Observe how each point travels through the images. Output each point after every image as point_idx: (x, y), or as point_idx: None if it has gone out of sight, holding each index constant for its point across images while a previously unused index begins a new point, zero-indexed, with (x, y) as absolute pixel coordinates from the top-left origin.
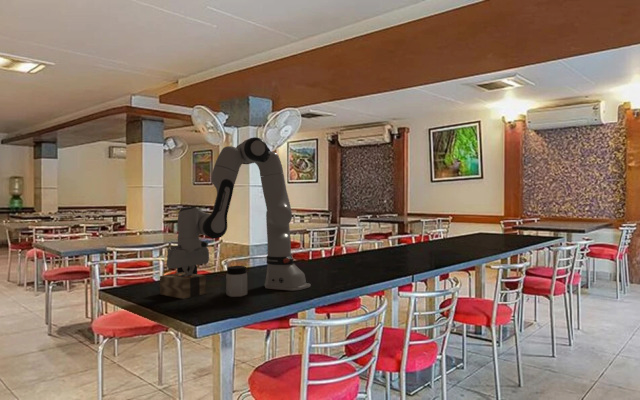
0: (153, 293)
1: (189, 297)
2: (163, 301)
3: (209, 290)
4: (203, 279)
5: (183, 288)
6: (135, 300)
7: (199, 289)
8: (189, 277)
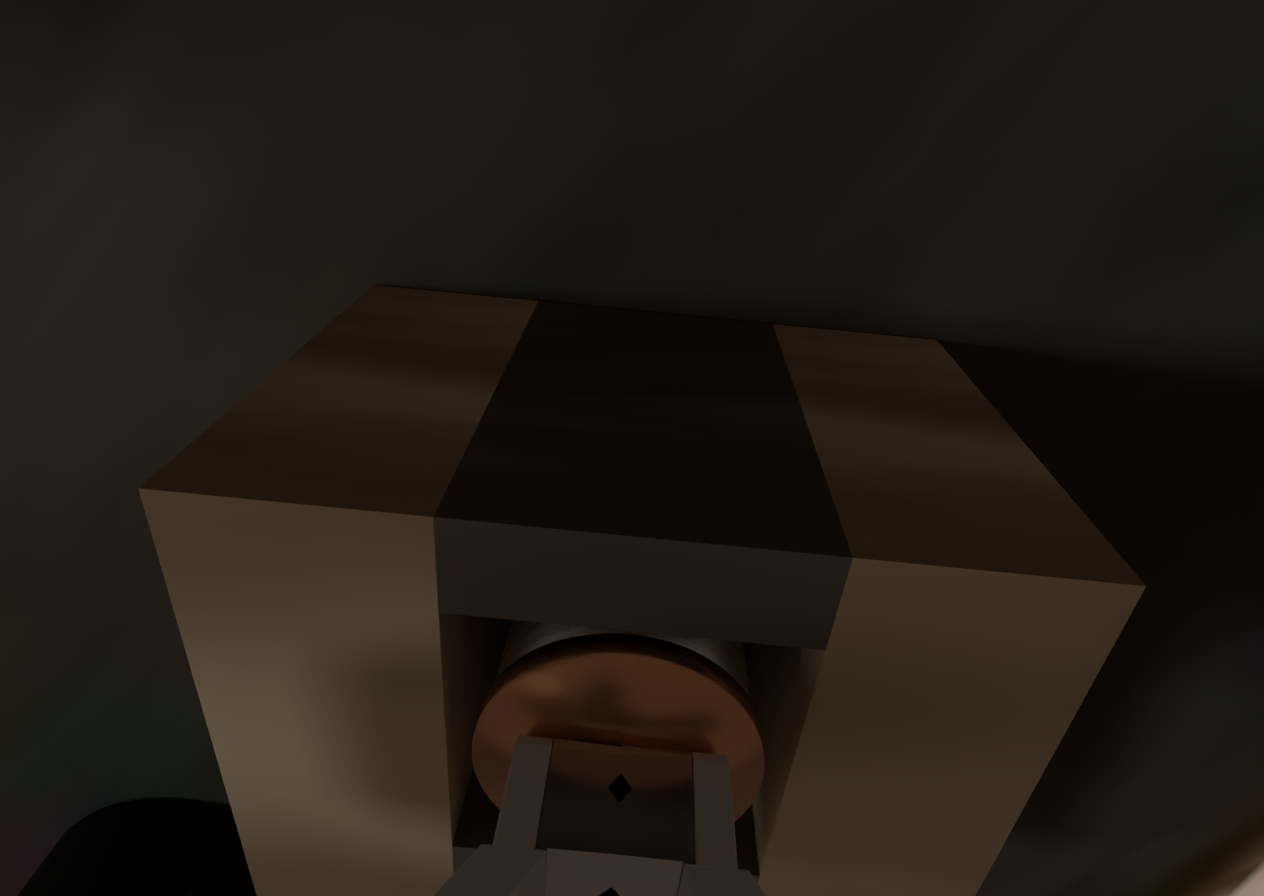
0: None
1: (793, 326)
2: (1217, 497)
3: (155, 430)
4: (305, 434)
5: (1017, 439)
6: (1215, 818)
7: (518, 346)
8: (707, 677)
